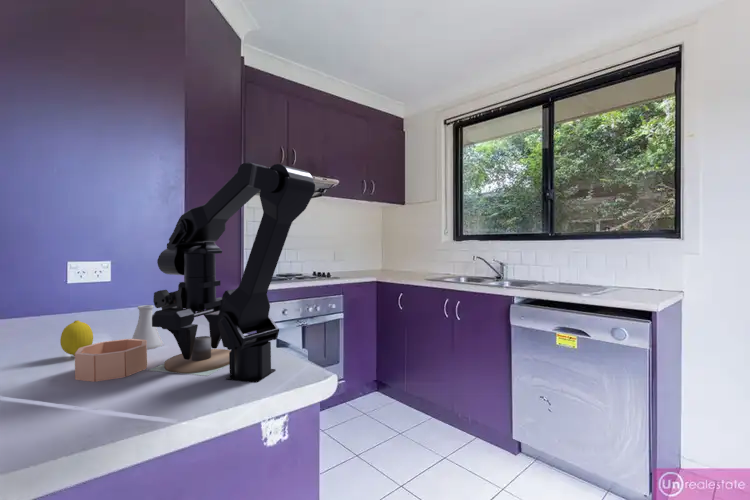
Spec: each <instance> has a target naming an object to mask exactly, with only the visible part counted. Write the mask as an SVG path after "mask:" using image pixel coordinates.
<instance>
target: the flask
mask: <svg viewBox="0 0 750 500" xmlns="http://www.w3.org/2000/svg"><path fill="white" fill-rule="evenodd" d="M154 308H155V305H154V304H153V305H152V304H145V305H138V306H137V310H138V320H137V324H136V326H135V327H136V328H135V330H134V333H133V334H132V338H131V339H141V340H147V351H149V350H154V349H157V348H160V347H164V346H165V344H164V342H163V340H162V337H161V336H160V333H159V331H158V327H152V315H153V314H154V313H153V310H154Z"/></svg>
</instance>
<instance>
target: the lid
mask: <svg viewBox="0 0 750 500" xmlns="http://www.w3.org/2000/svg"><path fill="white" fill-rule="evenodd" d="M230 351H231V350H228V349H225V348H224V349H223V348H216V349H214V348H212V347H211V337H210V335H209V336H208V335H204V336H203V335H200V336H196V337H195V342H194V346H193V351H192V355H191V358H190V359H189V360H186V359H184V357H183V355H182V353H179V354H176V355H173V356H171V357H169V358H168V359H166V360H165V361H164V363H163V364H164V365H165V369H166V370H167V371H170V372H174V373H173V374H180V373H196V372H204V371H210V370H214V369H218V368H221V367H224V366H226V367H227V365H228V366H229V352H230ZM224 368H225V367H224Z"/></svg>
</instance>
